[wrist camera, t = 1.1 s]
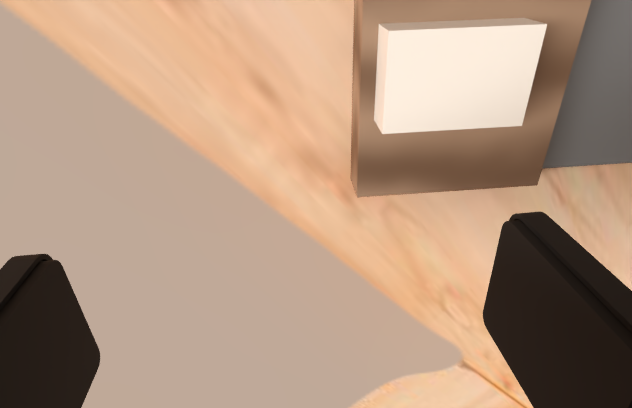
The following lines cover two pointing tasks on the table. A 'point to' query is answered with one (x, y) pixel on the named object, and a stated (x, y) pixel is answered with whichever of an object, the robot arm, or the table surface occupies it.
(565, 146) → the charcoal mat
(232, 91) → the table surface
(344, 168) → the table surface
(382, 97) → the ivory tile
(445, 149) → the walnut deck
